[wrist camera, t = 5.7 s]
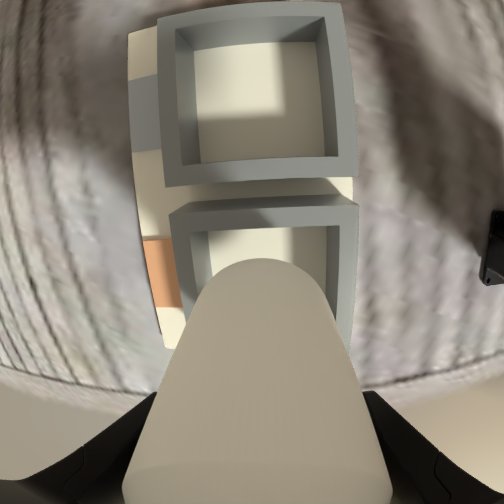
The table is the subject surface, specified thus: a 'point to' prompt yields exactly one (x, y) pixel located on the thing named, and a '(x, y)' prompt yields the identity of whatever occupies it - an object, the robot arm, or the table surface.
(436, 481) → the robot arm
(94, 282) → the table surface
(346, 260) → the socket board
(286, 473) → the beverage can
